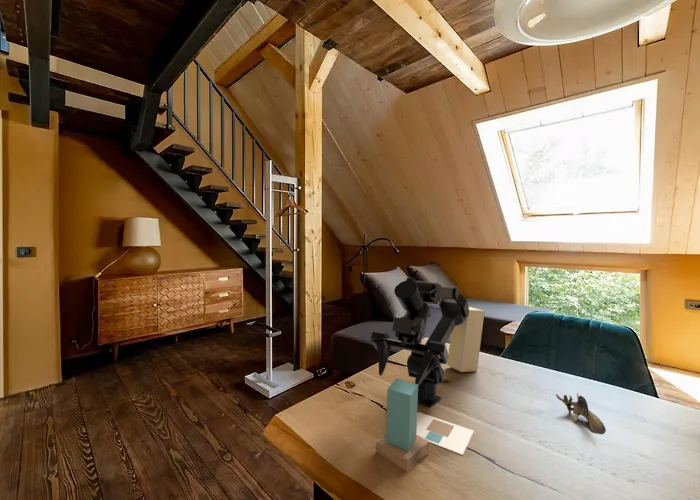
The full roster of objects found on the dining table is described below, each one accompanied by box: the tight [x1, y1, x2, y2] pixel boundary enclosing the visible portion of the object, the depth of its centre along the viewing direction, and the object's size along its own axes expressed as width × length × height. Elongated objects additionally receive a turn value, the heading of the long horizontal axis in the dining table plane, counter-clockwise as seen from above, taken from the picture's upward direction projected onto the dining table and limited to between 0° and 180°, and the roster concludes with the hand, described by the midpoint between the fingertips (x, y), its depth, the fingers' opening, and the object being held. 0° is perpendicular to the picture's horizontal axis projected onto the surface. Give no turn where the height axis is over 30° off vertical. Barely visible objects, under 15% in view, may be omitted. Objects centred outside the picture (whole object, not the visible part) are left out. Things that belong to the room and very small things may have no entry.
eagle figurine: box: [555, 392, 606, 435], centre depth 80 cm, size 8×8×10 cm
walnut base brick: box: [375, 434, 430, 473], centre depth 68 cm, size 8×8×3 cm
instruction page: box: [416, 411, 475, 456], centre depth 76 cm, size 10×14×1 cm
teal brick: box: [385, 378, 419, 451], centre depth 68 cm, size 5×5×12 cm
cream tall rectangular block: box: [447, 306, 485, 373], centre depth 111 cm, size 8×7×21 cm
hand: (398, 379), depth 74 cm, fingers open, 9 cm apart
